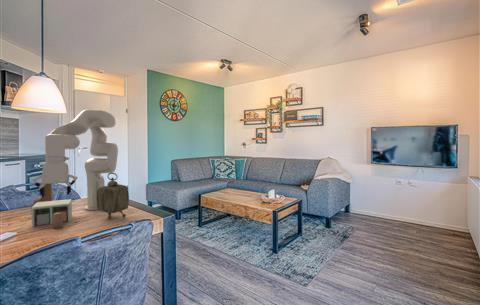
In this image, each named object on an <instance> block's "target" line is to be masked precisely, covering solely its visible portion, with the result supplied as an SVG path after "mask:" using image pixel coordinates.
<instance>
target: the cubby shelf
mask: <svg viewBox="0 0 480 305" xmlns="http://www.w3.org/2000/svg"><path fill="white" fill-rule="evenodd" d="M72 204H73V203H72V199H71V198H69V199H59V200H53V201H46V202H37V203H36V204H35V205H34V204H33V205H32V207H31V227H32V228H33V227H35V226H36V225H37V214H38V213H42V212H50V223H49V224H50V225H53V214H54V213H55V212H56V211H58V210H67V211H68V219H67V222H71V219H72V216H73V205H72Z"/></svg>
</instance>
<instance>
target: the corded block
mask: <svg viewBox="0 0 480 305" xmlns="http://www.w3.org/2000/svg"><path fill="white" fill-rule="evenodd" d="M63 222H68V211H67V210H58V211H56V212H55V213H54V214H53V224H52V229H53V230H58V229H61V228H63Z"/></svg>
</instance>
